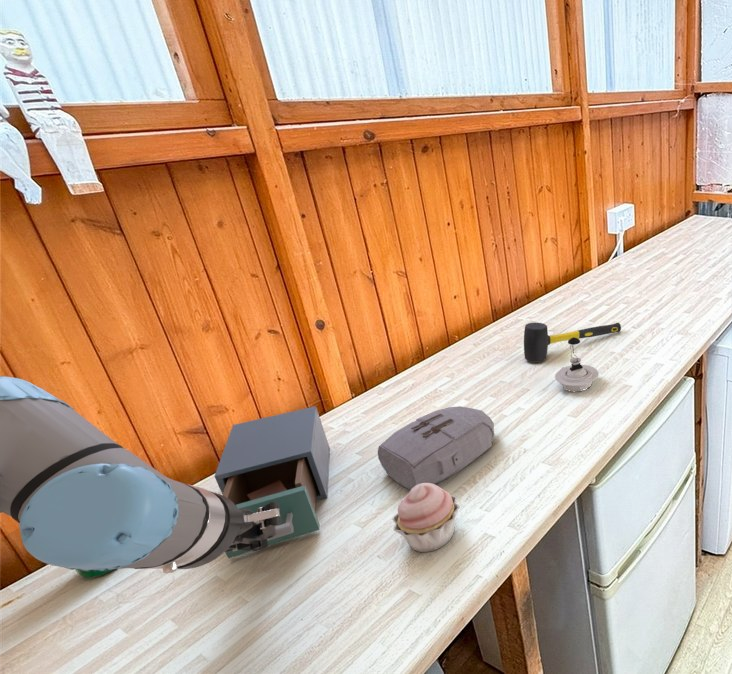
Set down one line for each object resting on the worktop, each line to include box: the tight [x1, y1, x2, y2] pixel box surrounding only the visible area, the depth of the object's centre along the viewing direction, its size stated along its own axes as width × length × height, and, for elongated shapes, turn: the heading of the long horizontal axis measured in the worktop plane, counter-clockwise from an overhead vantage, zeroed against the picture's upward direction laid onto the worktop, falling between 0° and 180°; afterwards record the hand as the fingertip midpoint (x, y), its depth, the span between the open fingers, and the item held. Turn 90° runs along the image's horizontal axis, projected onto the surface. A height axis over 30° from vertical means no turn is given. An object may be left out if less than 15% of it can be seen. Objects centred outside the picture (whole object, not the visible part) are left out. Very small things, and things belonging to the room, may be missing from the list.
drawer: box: [222, 457, 321, 559], centre depth 80 cm, size 18×11×8 cm, turn 28°
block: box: [247, 480, 287, 501], centre depth 80 cm, size 4×4×4 cm
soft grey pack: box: [377, 405, 495, 491], centre depth 95 cm, size 15×8×20 cm
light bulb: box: [554, 337, 600, 392], centre depth 118 cm, size 12×10×10 cm
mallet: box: [523, 321, 622, 363], centre depth 138 cm, size 29×6×10 cm, turn 129°
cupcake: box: [391, 483, 461, 553], centre depth 77 cm, size 9×9×10 cm
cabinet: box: [214, 405, 331, 502], centre depth 89 cm, size 16×13×10 cm
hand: (260, 539), depth 71 cm, fingers closed
